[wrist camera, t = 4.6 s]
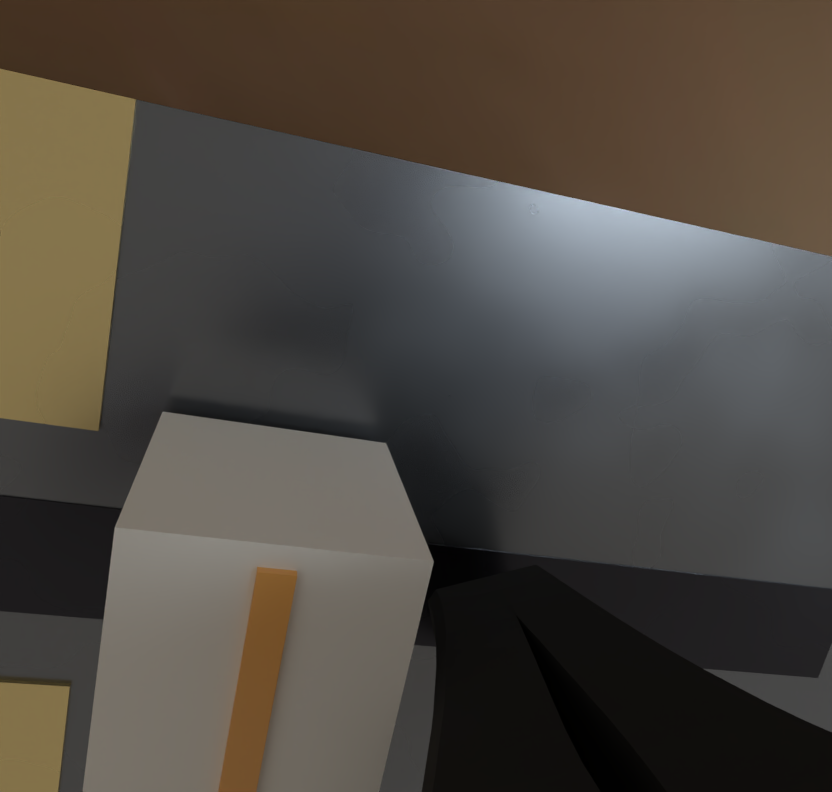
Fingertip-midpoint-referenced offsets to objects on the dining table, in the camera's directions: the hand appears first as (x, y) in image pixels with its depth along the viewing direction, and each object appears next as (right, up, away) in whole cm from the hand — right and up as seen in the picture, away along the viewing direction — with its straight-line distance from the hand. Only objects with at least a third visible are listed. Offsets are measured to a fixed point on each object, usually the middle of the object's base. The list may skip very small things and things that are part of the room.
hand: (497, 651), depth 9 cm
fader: (-3, +1, 0) cm, 3 cm away
